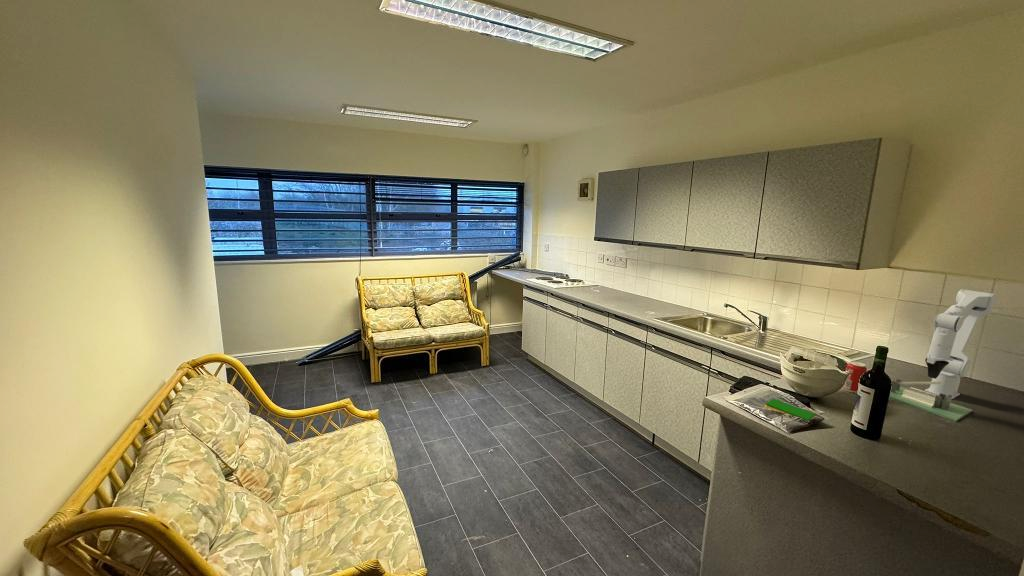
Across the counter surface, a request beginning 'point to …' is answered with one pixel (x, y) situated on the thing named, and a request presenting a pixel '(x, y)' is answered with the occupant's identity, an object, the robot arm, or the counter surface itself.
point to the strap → (918, 383)
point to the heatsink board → (928, 401)
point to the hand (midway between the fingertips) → (932, 377)
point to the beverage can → (854, 375)
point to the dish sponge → (789, 409)
